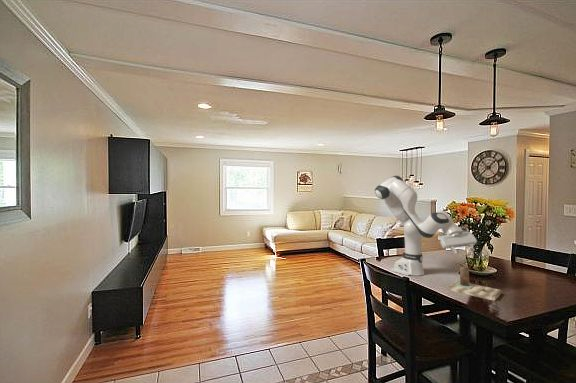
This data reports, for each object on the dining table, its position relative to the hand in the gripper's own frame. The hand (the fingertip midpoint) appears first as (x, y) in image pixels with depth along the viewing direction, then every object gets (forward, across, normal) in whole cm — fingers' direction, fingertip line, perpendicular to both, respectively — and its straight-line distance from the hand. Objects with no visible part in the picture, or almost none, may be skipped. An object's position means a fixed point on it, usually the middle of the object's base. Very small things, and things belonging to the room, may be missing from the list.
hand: (465, 252), depth 163 cm
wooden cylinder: (+13, -1, +15) cm, 20 cm away
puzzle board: (+18, +1, +15) cm, 23 cm away
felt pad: (+13, -1, +16) cm, 20 cm away
